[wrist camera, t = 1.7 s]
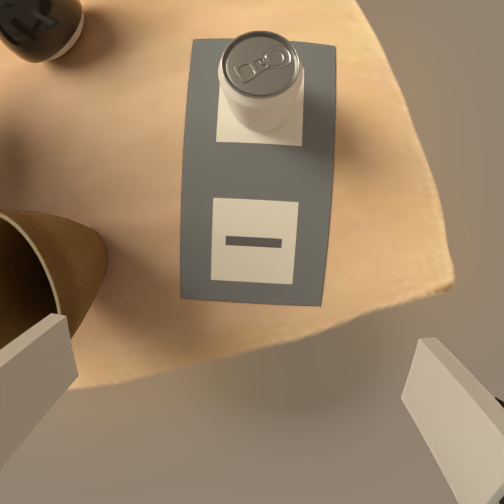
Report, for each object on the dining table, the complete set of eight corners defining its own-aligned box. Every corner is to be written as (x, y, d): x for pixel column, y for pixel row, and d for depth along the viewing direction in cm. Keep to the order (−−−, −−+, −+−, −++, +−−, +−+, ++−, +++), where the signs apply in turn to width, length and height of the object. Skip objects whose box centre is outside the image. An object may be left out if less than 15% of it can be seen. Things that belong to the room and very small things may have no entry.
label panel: (181, 297, 36) (180, 298, 36) (193, 39, 30) (193, 39, 30) (320, 305, 36) (320, 306, 36) (334, 46, 30) (335, 45, 29)
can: (302, 114, 31) (323, 79, 20) (249, 142, 32) (243, 120, 21) (271, 66, 30) (276, 13, 19) (219, 93, 31) (198, 51, 19)
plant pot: (27, 216, 35) (-61, 237, 19) (116, 180, 34) (26, 183, 18) (60, 320, 38) (-11, 376, 22) (151, 302, 37) (89, 374, 21)
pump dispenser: (81, -6, 28) (25, -55, 13) (105, 34, 30) (40, -19, 15) (28, 40, 29) (-38, 9, 14) (46, 84, 31) (-32, 57, 16)
